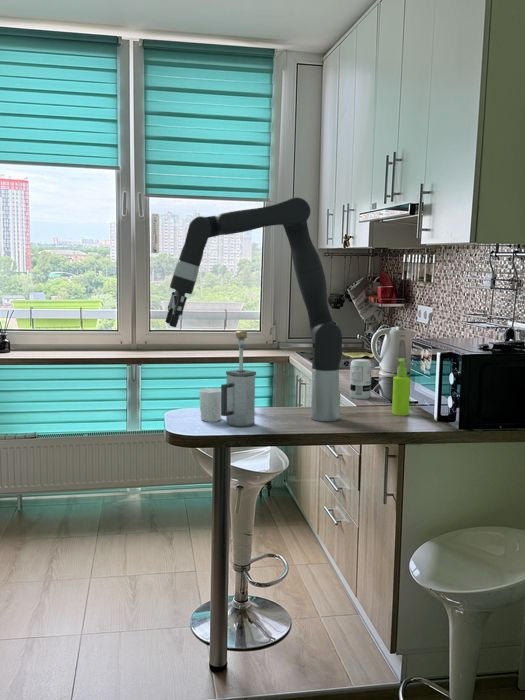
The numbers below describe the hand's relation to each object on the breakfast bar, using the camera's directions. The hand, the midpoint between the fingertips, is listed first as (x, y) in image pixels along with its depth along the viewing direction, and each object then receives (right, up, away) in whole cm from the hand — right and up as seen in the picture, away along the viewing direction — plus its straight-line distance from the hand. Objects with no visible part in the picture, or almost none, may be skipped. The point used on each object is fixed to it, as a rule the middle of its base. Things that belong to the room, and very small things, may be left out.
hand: (170, 324), depth 217 cm
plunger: (+23, -22, 0) cm, 32 cm away
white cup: (+13, -32, +8) cm, 35 cm away
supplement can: (+69, -27, +49) cm, 89 cm away
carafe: (+22, -33, +1) cm, 39 cm away
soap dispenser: (+79, -31, +20) cm, 87 cm away
